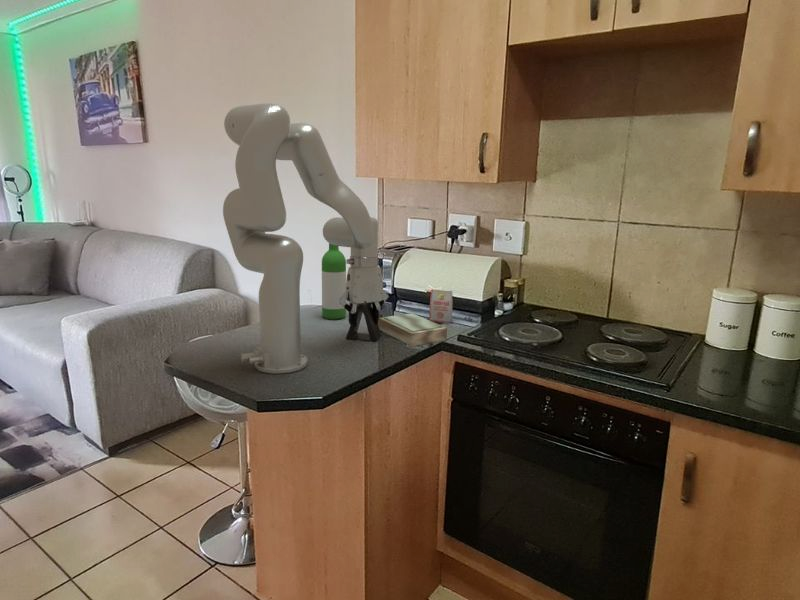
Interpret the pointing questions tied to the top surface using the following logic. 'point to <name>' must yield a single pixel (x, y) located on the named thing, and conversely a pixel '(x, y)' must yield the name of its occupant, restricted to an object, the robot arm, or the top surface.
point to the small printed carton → (440, 306)
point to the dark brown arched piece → (372, 327)
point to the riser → (412, 329)
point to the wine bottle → (333, 283)
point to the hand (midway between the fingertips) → (363, 323)
